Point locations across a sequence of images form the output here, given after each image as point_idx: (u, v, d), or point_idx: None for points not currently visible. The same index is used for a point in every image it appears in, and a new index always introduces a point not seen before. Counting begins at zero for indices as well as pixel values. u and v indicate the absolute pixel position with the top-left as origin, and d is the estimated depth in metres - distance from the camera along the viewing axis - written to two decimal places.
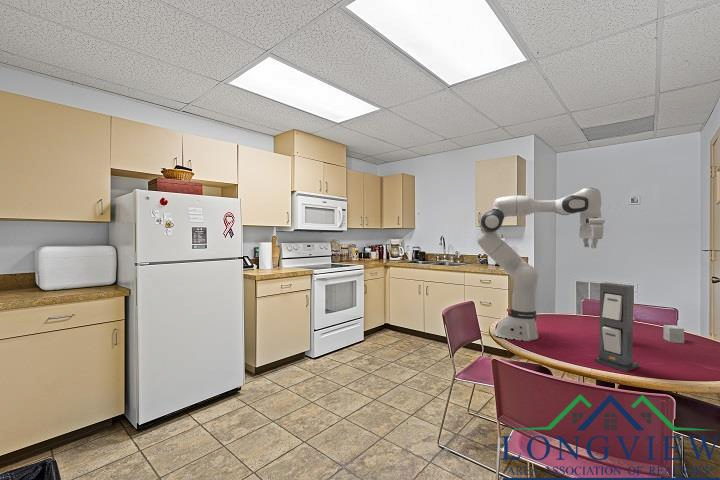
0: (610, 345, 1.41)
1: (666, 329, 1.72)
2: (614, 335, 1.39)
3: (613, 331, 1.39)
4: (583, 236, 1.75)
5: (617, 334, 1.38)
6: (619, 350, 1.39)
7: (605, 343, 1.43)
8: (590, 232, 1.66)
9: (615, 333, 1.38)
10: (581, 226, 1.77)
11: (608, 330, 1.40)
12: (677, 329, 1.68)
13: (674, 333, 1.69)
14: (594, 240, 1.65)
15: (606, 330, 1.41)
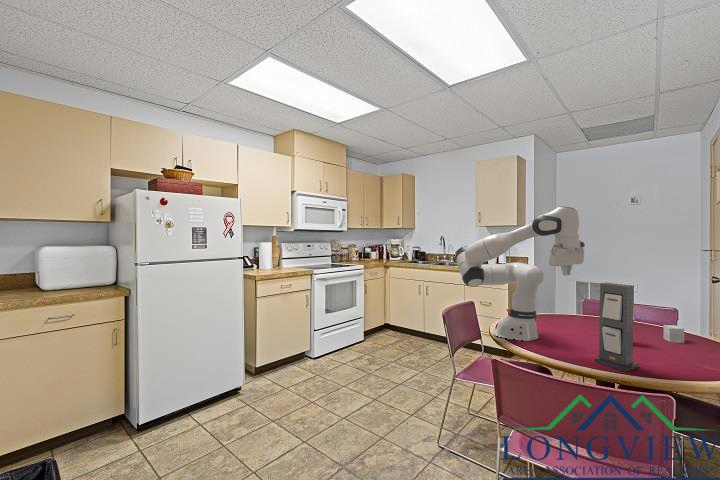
0: (610, 345, 1.41)
1: (666, 329, 1.72)
2: (614, 335, 1.39)
3: (613, 331, 1.39)
4: (566, 263, 1.45)
5: (617, 334, 1.38)
6: (619, 350, 1.39)
7: (605, 343, 1.43)
8: (578, 257, 1.49)
9: (615, 333, 1.38)
10: (561, 251, 1.43)
11: (608, 330, 1.40)
12: (677, 329, 1.68)
13: (674, 333, 1.69)
14: None
15: (606, 330, 1.41)
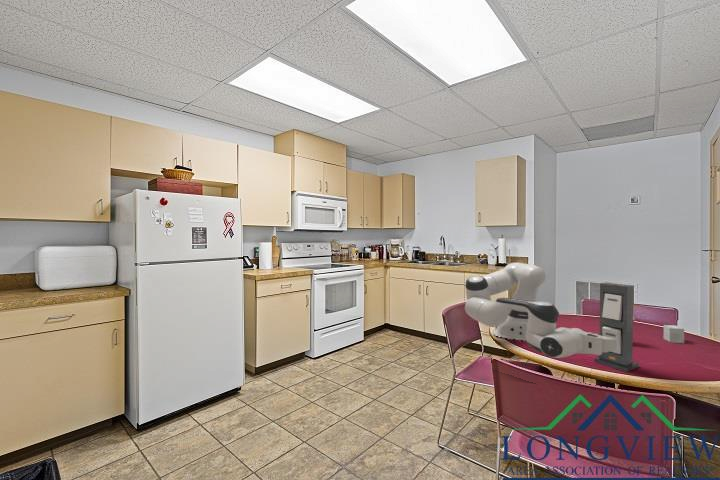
0: None
1: (666, 329, 1.72)
2: (614, 335, 1.39)
3: (613, 331, 1.39)
4: None
5: (617, 334, 1.38)
6: (619, 350, 1.39)
7: None
8: None
9: (615, 333, 1.38)
10: None
11: (608, 330, 1.40)
12: (677, 329, 1.68)
13: (674, 333, 1.69)
14: None
15: (606, 330, 1.41)
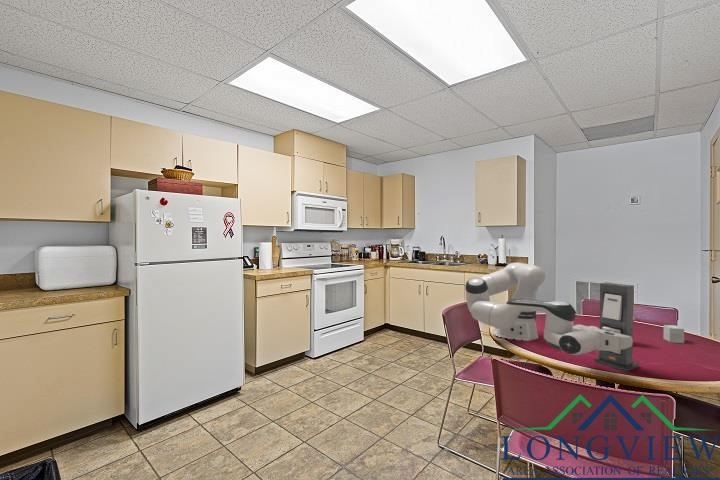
0: None
1: (666, 329, 1.72)
2: None
3: None
4: None
5: None
6: (619, 350, 1.39)
7: None
8: None
9: None
10: None
11: None
12: (677, 329, 1.68)
13: (674, 333, 1.69)
14: None
15: None
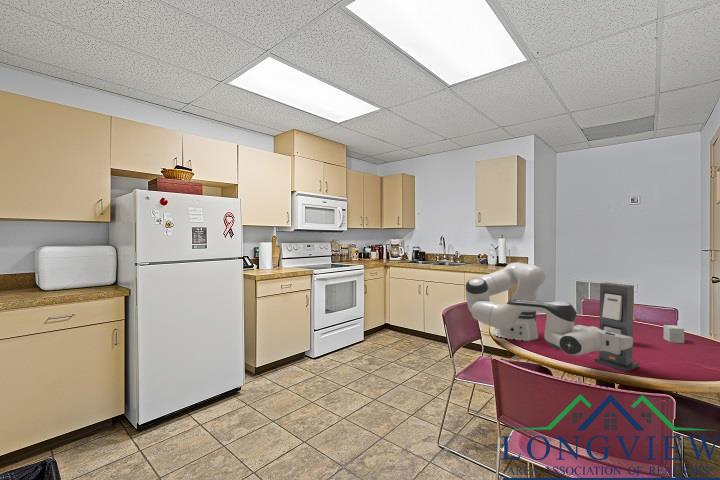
0: None
1: (666, 329, 1.72)
2: None
3: (615, 330, 1.40)
4: None
5: (619, 332, 1.38)
6: None
7: None
8: None
9: (617, 332, 1.39)
10: None
11: (610, 329, 1.41)
12: (677, 329, 1.68)
13: (674, 333, 1.69)
14: None
15: (608, 329, 1.42)
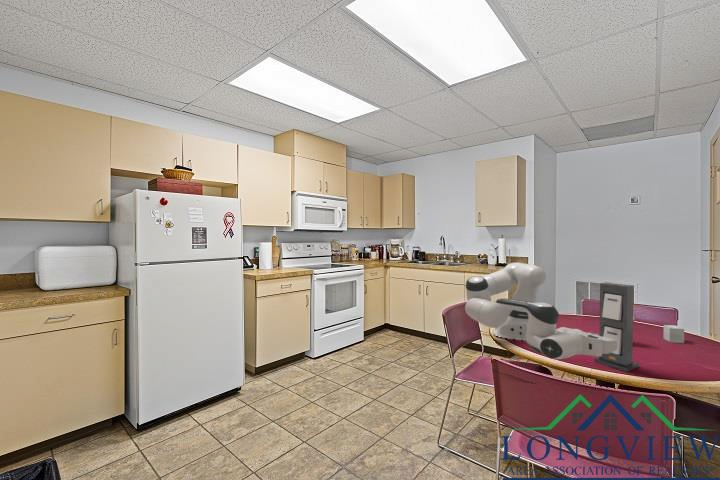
0: None
1: (666, 329, 1.72)
2: (615, 334, 1.40)
3: (615, 329, 1.40)
4: None
5: (619, 332, 1.38)
6: (617, 350, 1.38)
7: None
8: None
9: (617, 332, 1.39)
10: None
11: (610, 328, 1.41)
12: (677, 329, 1.68)
13: (674, 333, 1.69)
14: None
15: (608, 328, 1.42)
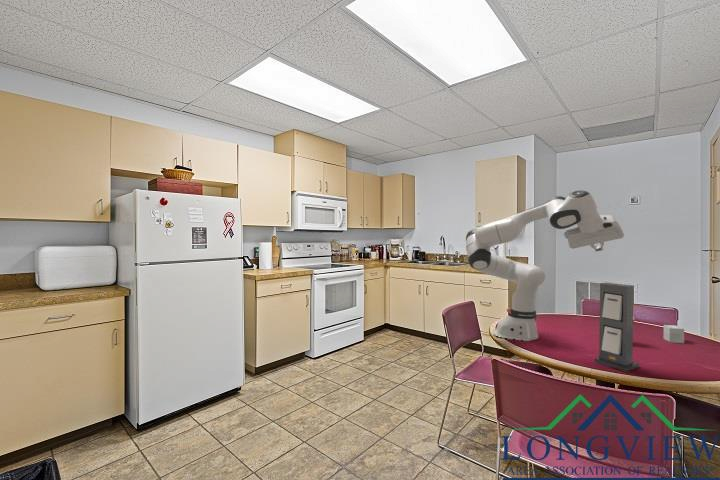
0: (609, 344, 1.40)
1: (666, 329, 1.72)
2: (615, 334, 1.40)
3: (616, 329, 1.40)
4: (586, 244, 1.49)
5: (619, 332, 1.39)
6: (617, 350, 1.38)
7: (604, 342, 1.42)
8: (610, 234, 1.43)
9: (617, 332, 1.39)
10: (575, 236, 1.49)
11: (611, 328, 1.41)
12: (677, 329, 1.68)
13: (674, 333, 1.69)
14: (603, 242, 1.47)
15: (608, 328, 1.42)
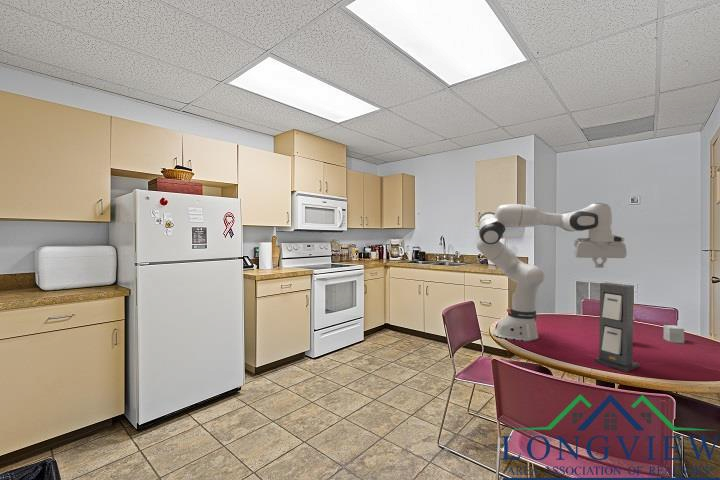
0: (609, 344, 1.40)
1: (666, 329, 1.72)
2: (615, 334, 1.40)
3: (616, 329, 1.40)
4: (592, 255, 1.58)
5: (619, 332, 1.39)
6: (617, 350, 1.38)
7: (604, 342, 1.42)
8: (615, 251, 1.55)
9: (617, 332, 1.39)
10: (585, 244, 1.58)
11: (611, 328, 1.41)
12: (677, 329, 1.68)
13: (674, 333, 1.69)
14: None
15: (608, 328, 1.42)
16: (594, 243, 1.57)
